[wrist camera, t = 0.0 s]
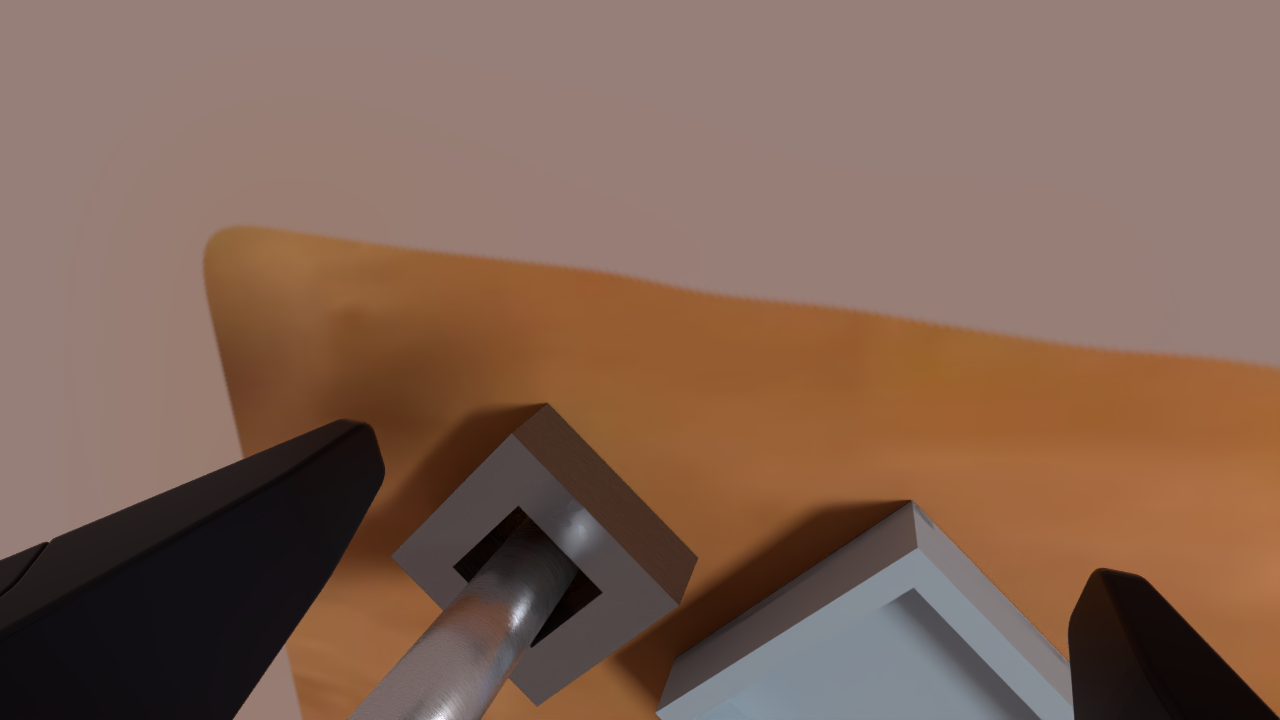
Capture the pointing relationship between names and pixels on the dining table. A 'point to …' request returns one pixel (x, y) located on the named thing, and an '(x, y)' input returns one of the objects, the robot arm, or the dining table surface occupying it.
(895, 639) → the tray
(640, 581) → the pin collar
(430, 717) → the pin
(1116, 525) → the dining table surface
